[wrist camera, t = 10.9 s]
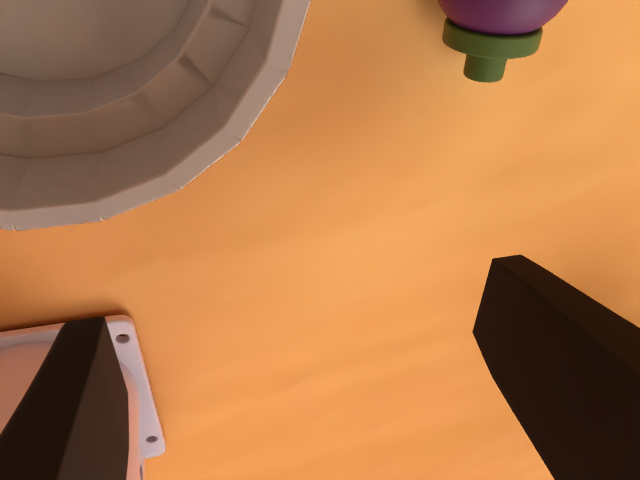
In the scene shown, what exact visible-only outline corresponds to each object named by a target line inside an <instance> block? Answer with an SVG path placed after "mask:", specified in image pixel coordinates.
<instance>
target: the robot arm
mask: <svg viewBox="0 0 640 480" xmlns="http://www.w3.org/2000/svg"><path fill="white" fill-rule="evenodd" d="M120 334H126V336H119V335H120ZM473 334H474V337H475V339H476V341H477V344H478V346H479V348H480V351H481V353H482V356H483V358H484V360H485V362H486V364H487V366H488V369H489V371H490V373H491V375H492V377H493V379H494V381H495V382H496V384H497V386H498V388H499V389H500V391H501V393H502V394H503V396H504V398H505V399H506V401H507V403H508V404H509V406H510V408H511V409H512V411H513V413H514V414H515V416H516V417H517V419H518V421H519V422H520V424H521V426H522V427H523V429H524V430H525V432H526V434H527V435H528V437H529V439H530V440H531V442H532V443H533V445H534V447H535V448H536V450H537V452H538V453H539V455H540V456H541V458H542V460H543V461H544V463H545V465H546V466H547V468H548V469H549V471H550V473H551V474H552V476H553V478H554V479H555V480H640V328H639V327H637V326H636V325H634V324H632V323H631V322H629V321H627V320H626V319H624V318H622V317H621V316H619V315H618V314H616V313H614V312H613V311H611V310H609V309H608V308H606V307H605V306H603V305H601V304H600V303H598V302H597V301H595V300H594V299H592V298H590V297H589V296H587V295H586V294H584V293H582V292H581V291H579V290H578V289H576V288H575V287H573V286H571V285H570V284H568V283H567V282H565V281H564V280H562V279H560V278H559V277H557V276H556V275H554V274H553V273H551V272H549V271H548V270H546V269H545V268H543V267H541V266H540V265H538V264H536V263H535V262H533V261H531V260H529V259H528V258H526V257H524V256H522V255H514V256H507V257H501V258H494V259H492V263H491V266H490V270H489V273H488V277H487V281H486V284H485V288H484V292H483V295H482V299H481V303H480V306H479V310H478V314H477V317H476V321H475V325H474V328H473ZM165 450H166V443H165V439H164V435H163V431H162V427H161V424H160V420H159V416H158V412H157V409H156V405H155V401H154V397H153V394H152V390H151V386H150V382H149V378H148V375H147V371H146V367H145V363H144V360H143V356H142V352H141V348H140V345H139V341H138V337H137V333H136V330H135V326H134V322H133V320H132V318H130V317H129V316H126V315H113V316H106V317H105V316H103V317H96V318H89V319H82V320H76V321H69V322H66V323H59V324H52V325H45V326H39V327H32V328H25V329H18V330H12V331H5V332H0V480H145V459H146V458H151V457H156V456H159V455H161V454H163V453H164V452H165Z"/></svg>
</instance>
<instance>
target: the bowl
mask: <svg viewBox="0 0 640 480" xmlns="http://www.w3.org/2000/svg"><path fill="white" fill-rule="evenodd" d="M310 2H311V0H0V229H2V230H11V231H12V230H16V231H22V230H30V229H39V228H48V227H57V226H65V225H74V224H83V223H91V222H100V221H102V220H103V219H104V220H107V219H109V218H112V217H114V216H117V215H119V214H122V213H124V212H127V211H130V210H132V209H135V208H137V207H140V206H142V205H145V204H147V203H150V202H152V201H155V200H157V199H160V198H162V197H165V196H168V195H170V194H173V193H175V192H177V191H178V189H179V190H181V189H182V188H184V187H185V186H186V185H187V184H189V183H190V182H191V181H192V180H194V179H195V178H196V177H197V176H199V175H200V174H201V173H203V172H204V171H205V170H206V169H208V168H209V167H210V166H211V165H213V164H214V163H215V162H217V161H218V160H219V159H220V158H222V157H223V156H224V155H225V154H227V153H228V152H229V151H231V150H232V149H233V148H234V147H236V146H237V145H238V144H239V143H240V142H241V140H243V139H244V138H245V136H246V135H247V133H248V132H249V130H250V129H251V127H252V126H253V124H254V123H255V121H256V120H257V118H258V117H259V115H260V114H261V113H262V111H263V110H264V108H265V107H266V105H267V104H268V102H269V101H270V99H271V98H272V96H273V95H274V93H275V92H276V90H277V89H278V88H279V86H280V85H281V83H282V82H283V80H284V79H285V77H286V76H287V74H288V70H289V69H290V68H291V65H292V61H293V58H294V55H295V51H296V48H297V45H298V42H299V38H300V35H301V32H302V28H303V25H304V22H305V19H306V15H307V12H308V9H309V5H310Z"/></svg>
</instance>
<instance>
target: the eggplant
mask: <svg viewBox="0 0 640 480" xmlns="http://www.w3.org/2000/svg"><path fill="white" fill-rule="evenodd" d="M438 2H439V4H440V6H441V8H442V9H443V11H444V12H445V14H446V16H447V18H446V20H445V24H444V30H443V37H442V39H443V42H444V43H445V44H446V45H447V46H448V47H450V48H452V49H454V50H456V51H458V52H461V53H464V54H467V55H466V60H465V66H464V71H463V72H464V75H465V76H466V77H467V78H469V79H471V80H474V81H478V82H497V81H499V80H501V79H502V77H503V74H504V70H505V65H506V61H507V59H513V58H521V57H526V56H529V55H532V54H534V53H535V52H536V51H537V50H538V48H539V44H540V40H541V36H542V32H543V30H542V27H541V26H543V25H545V24H546V23H547V22H548V21H549V20H551V19H552V18H553V17H554V16H556V15H557V13H558V12H559V11H560V10H561V9H562V8H563V7H564V5H565V4H566V3H567V2H568V0H438Z"/></svg>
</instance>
